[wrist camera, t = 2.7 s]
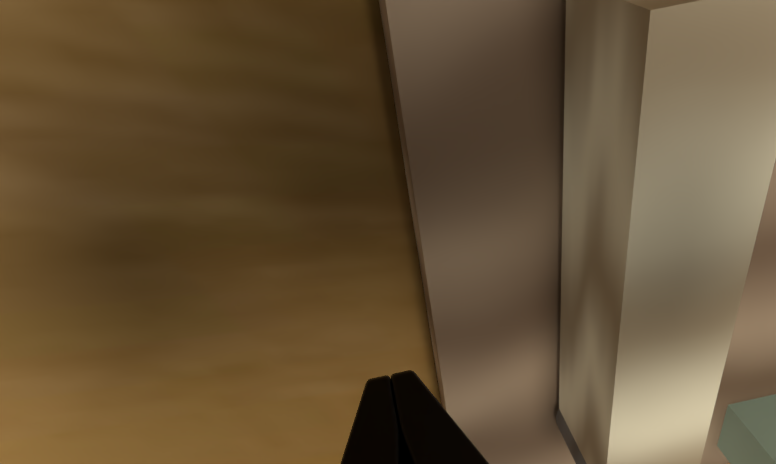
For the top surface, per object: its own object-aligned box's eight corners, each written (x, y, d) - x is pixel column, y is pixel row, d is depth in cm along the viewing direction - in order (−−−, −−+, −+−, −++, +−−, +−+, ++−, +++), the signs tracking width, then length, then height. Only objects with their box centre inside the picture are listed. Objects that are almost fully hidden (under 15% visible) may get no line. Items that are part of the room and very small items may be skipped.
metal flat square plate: (899, 391, 26) (930, 417, 25) (454, 491, 25) (463, 523, 24) (1202, -206, 14) (1293, -214, 13) (371, -46, 13) (379, -38, 12)
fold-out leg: (636, 427, 22) (690, 514, 19) (555, 445, 21) (596, 535, 18) (701, -48, 12) (825, -25, 10) (561, -20, 12) (645, 11, 9)
